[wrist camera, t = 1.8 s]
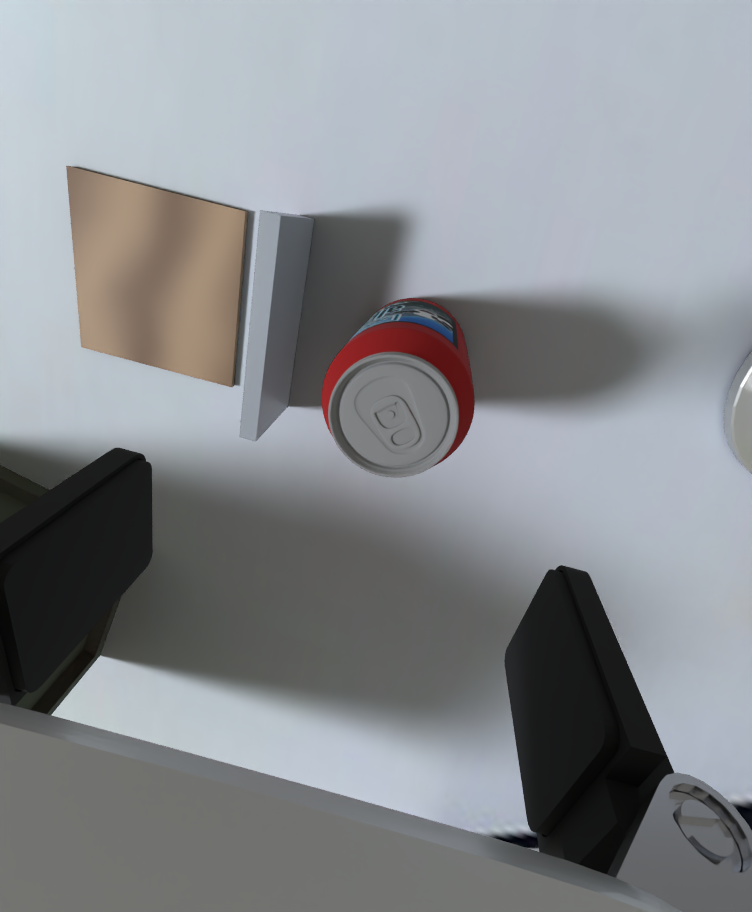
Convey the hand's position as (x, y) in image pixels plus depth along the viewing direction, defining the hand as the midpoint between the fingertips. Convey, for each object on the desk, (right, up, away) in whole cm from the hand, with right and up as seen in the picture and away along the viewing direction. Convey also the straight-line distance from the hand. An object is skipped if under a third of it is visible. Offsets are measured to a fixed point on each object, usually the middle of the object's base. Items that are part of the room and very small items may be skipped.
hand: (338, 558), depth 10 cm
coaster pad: (-13, +13, +19) cm, 27 cm away
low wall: (-5, +11, +19) cm, 22 cm away
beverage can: (+3, +9, +19) cm, 21 cm away
